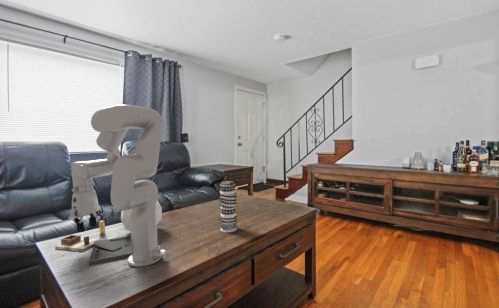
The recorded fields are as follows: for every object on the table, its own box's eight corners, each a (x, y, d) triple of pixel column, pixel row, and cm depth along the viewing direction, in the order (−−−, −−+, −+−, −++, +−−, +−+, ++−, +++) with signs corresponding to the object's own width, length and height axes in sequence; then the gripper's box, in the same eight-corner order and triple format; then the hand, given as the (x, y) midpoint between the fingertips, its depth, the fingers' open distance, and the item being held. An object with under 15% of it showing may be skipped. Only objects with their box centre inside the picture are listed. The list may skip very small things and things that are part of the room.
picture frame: (94, 245, 115) (89, 265, 96) (94, 240, 115) (88, 260, 96) (133, 238, 122) (135, 256, 103) (133, 234, 122) (134, 251, 103)
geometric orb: (144, 240, 136) (155, 205, 146) (162, 236, 123) (173, 198, 134) (108, 230, 125) (123, 193, 136) (123, 225, 112) (139, 184, 123)
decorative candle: (237, 232, 126) (235, 183, 125) (218, 232, 127) (217, 183, 125) (238, 226, 136) (237, 180, 134) (221, 226, 136) (219, 180, 134)
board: (101, 242, 118) (100, 233, 118) (82, 251, 108) (82, 242, 108) (75, 239, 121) (75, 231, 121) (55, 248, 111) (54, 239, 111)
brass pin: (106, 233, 128) (105, 220, 128) (102, 235, 126) (101, 221, 125) (102, 233, 129) (101, 220, 128) (98, 235, 126) (97, 221, 126)
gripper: (72, 193, 103) (76, 236, 104) (105, 185, 119) (108, 222, 120) (58, 193, 104) (62, 235, 105) (92, 185, 121) (95, 222, 122)
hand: (87, 228), depth 113 cm, fingers open, 5 cm apart
